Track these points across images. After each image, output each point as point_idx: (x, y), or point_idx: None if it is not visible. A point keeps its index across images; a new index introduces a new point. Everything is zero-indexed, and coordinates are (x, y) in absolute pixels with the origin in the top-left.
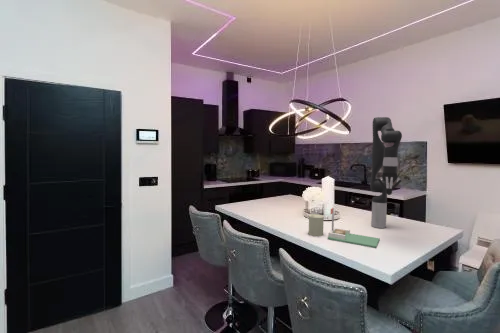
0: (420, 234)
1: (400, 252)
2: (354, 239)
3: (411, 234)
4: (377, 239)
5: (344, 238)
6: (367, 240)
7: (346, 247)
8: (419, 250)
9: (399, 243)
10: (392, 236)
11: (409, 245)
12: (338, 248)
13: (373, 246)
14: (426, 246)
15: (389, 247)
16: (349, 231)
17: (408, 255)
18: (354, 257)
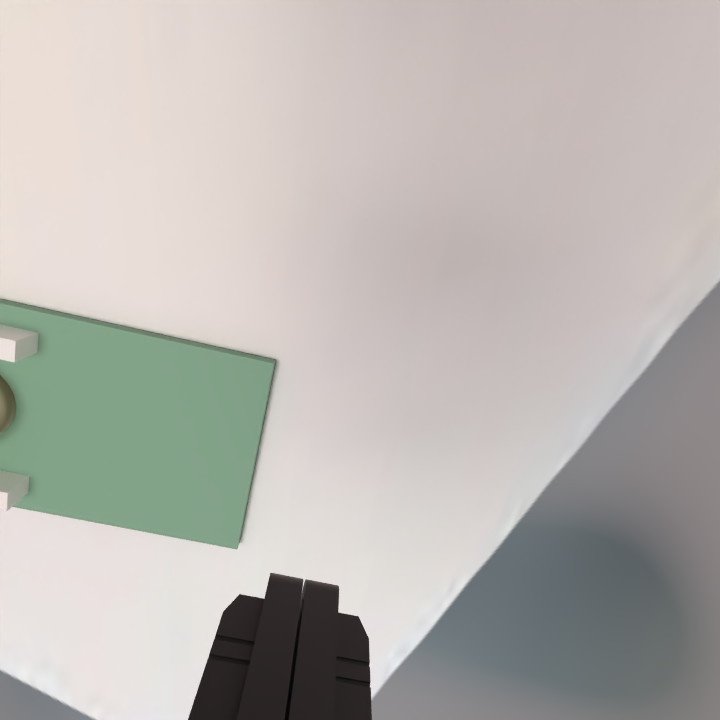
0: (674, 37)
1: (376, 561)
2: (92, 459)
3: (585, 73)
4: (256, 399)
5: (19, 498)
6: (184, 449)
7: (65, 586)
8: (503, 489)
9: (409, 390)
10: (393, 215)
11: (469, 411)
12: (23, 617)
13: (223, 543)
14: (581, 391)
15: (326, 497)
16: (21, 349)
17: (410, 592)
18: (126, 706)
